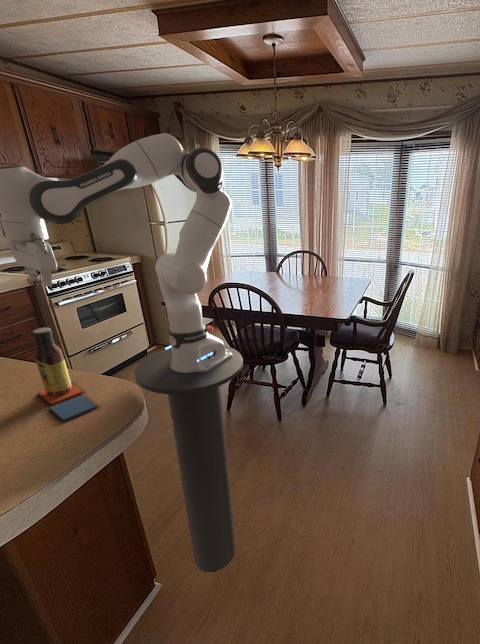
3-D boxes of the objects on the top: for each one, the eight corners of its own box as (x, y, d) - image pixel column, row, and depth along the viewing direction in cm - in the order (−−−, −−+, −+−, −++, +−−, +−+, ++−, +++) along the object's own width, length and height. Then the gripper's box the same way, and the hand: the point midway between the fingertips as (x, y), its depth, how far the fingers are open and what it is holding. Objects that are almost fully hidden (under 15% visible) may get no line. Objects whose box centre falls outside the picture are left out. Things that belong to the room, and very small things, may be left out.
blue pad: (82, 396, 100) (81, 395, 100) (97, 407, 95) (96, 405, 95) (50, 409, 94) (49, 407, 93) (63, 421, 89) (63, 419, 89)
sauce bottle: (45, 390, 101) (25, 328, 93) (71, 384, 105) (54, 323, 97) (47, 400, 96) (26, 335, 89) (74, 393, 100) (56, 330, 93)
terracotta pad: (70, 383, 106) (69, 381, 106) (83, 393, 102) (82, 391, 101) (38, 394, 100) (38, 392, 100) (51, 405, 95) (50, 403, 95)
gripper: (56, 235, 89) (69, 287, 94) (27, 228, 99) (41, 276, 104) (26, 237, 84) (42, 291, 89) (-1, 230, 94) (15, 279, 100)
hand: (41, 283), depth 97 cm, fingers open, 8 cm apart
